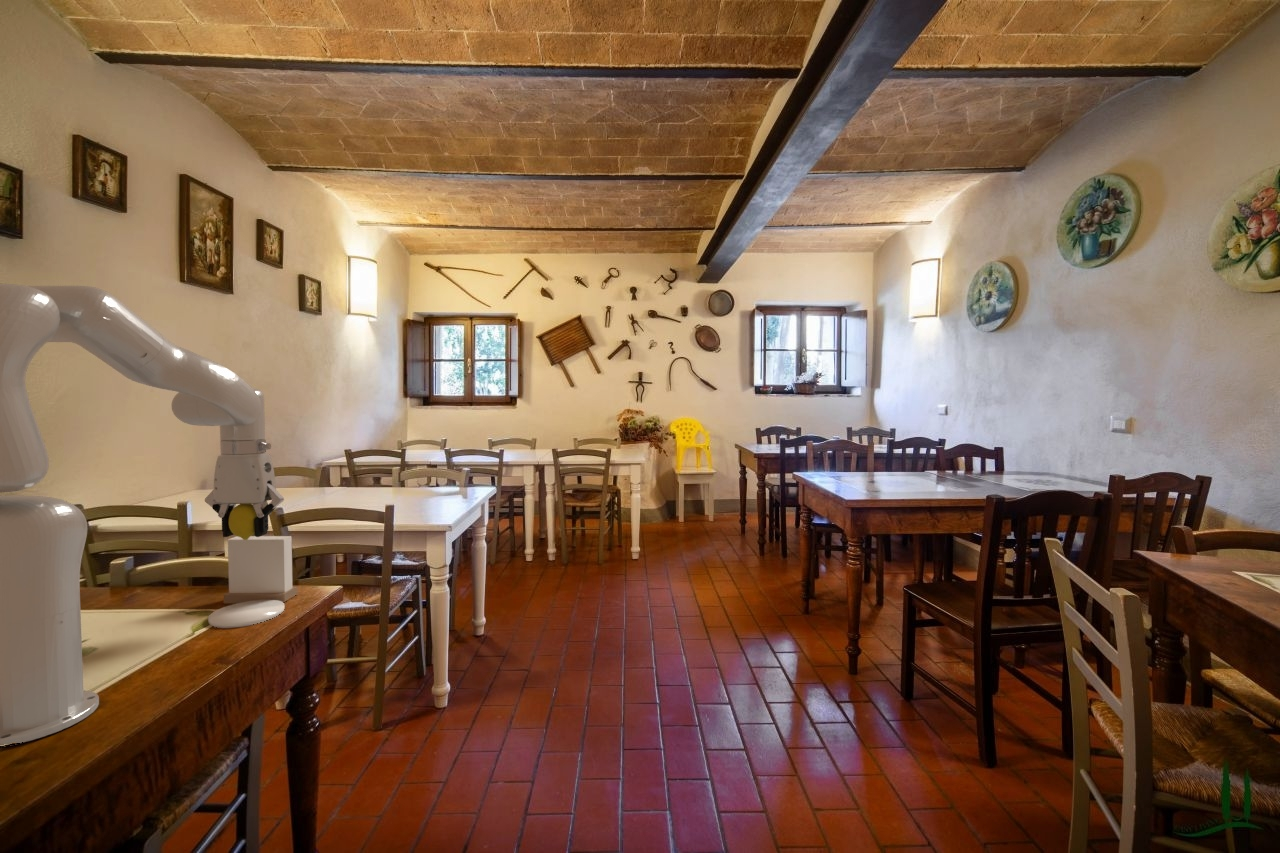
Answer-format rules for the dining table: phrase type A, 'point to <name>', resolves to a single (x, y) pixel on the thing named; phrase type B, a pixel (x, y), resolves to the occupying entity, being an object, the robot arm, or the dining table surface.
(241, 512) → the lemon
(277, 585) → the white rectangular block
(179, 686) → the dining table surface
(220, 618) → the white round disc
